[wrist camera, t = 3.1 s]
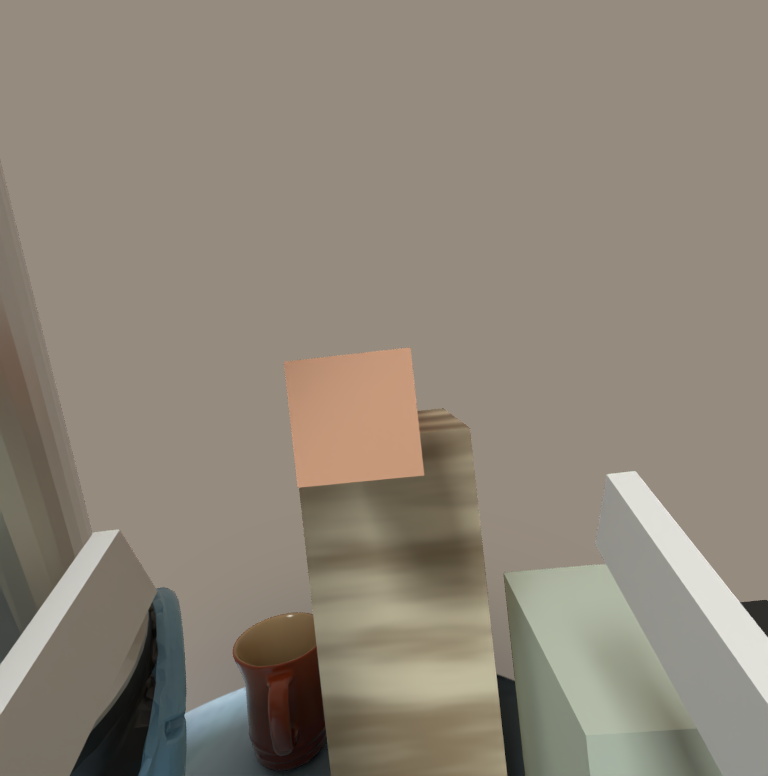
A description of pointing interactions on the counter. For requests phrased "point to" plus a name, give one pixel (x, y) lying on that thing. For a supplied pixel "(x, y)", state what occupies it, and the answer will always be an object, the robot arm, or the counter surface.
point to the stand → (405, 617)
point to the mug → (282, 690)
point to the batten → (354, 418)
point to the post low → (593, 682)
